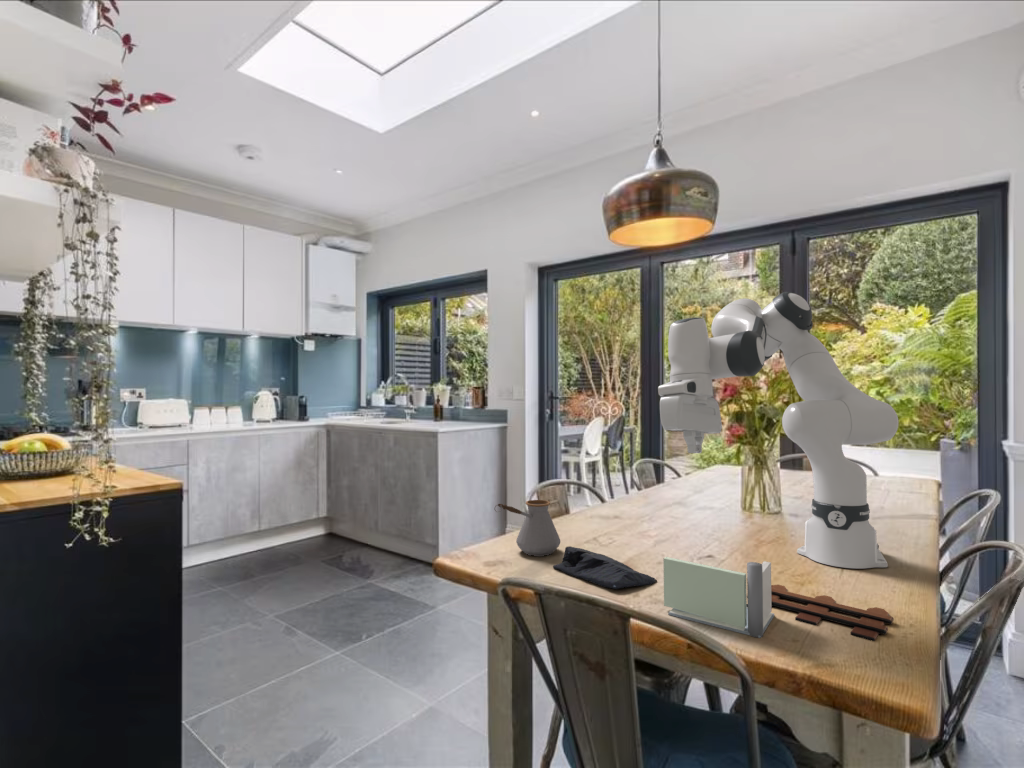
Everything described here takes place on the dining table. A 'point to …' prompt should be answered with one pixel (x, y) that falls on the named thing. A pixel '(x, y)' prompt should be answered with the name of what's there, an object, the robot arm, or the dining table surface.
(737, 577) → the green wall panel
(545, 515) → the coffee pot
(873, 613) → the decorative fence
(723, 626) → the card
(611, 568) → the dark slate chunk
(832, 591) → the dining table surface
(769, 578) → the fence post and white panel
